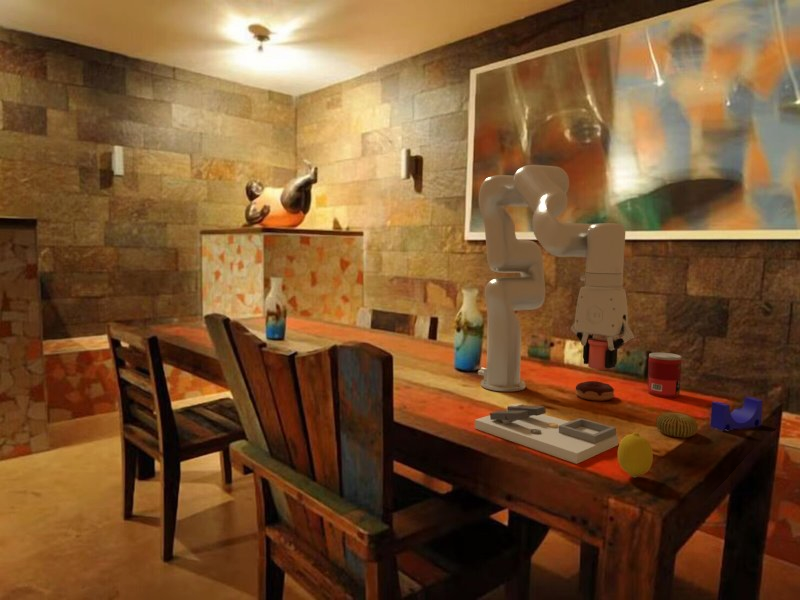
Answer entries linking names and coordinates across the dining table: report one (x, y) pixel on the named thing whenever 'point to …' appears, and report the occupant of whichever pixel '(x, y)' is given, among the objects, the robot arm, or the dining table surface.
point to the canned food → (664, 375)
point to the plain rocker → (509, 416)
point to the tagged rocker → (527, 409)
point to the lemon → (635, 454)
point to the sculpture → (677, 424)
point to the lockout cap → (597, 353)
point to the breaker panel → (555, 435)
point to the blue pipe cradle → (737, 415)
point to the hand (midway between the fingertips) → (599, 364)
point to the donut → (594, 391)
